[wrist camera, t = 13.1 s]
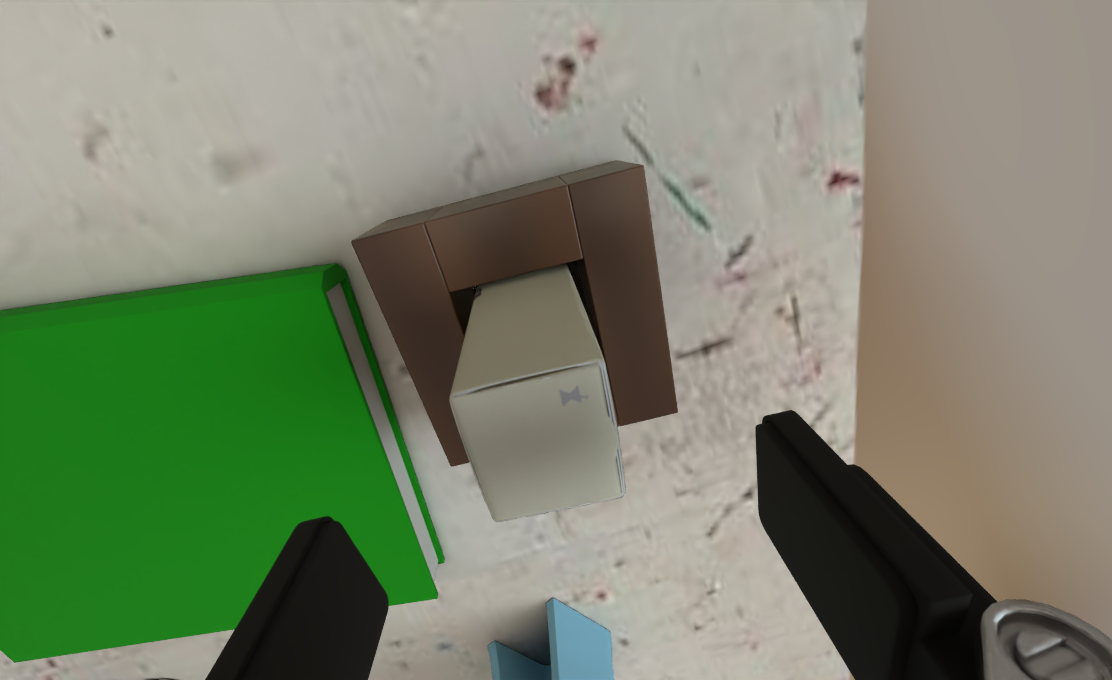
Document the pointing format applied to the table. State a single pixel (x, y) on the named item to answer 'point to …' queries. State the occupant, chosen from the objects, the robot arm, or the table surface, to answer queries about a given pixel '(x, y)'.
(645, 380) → the brown frame
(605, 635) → the vase
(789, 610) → the table surface
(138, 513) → the book
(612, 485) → the box
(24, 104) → the table surface
